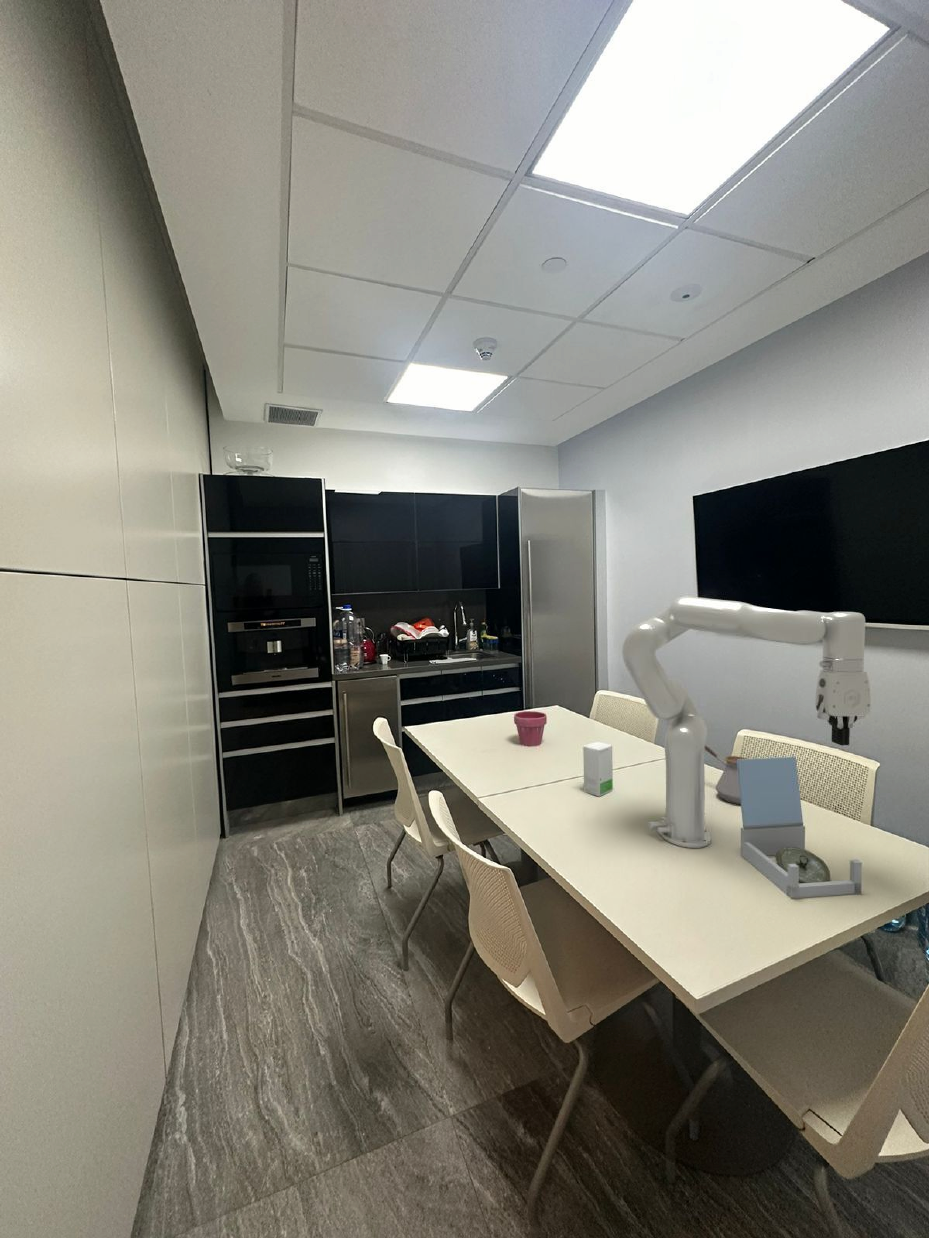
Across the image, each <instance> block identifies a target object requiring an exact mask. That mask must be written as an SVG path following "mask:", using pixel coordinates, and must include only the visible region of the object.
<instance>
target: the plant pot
mask: <svg viewBox="0 0 929 1238" xmlns="http://www.w3.org/2000/svg"><path fill="white" fill-rule="evenodd" d="M547 716H548V715H547V714H546V713H545V712H542V711H535V710H534V711H533V710H531V711H530V710H528V711H527V710H526V711H519V712H516V713H514V715H513V722H514V723H513V724H515V725H516V729H517V730H516V731H517V735H518V737H519V738H518V739H519V742H520V744H521V745H522V746H526V747H537V746H540V745H541V744H542V741H543V736H544V730H545V726H546V725H547V722H548V721H547V719H548V718H547Z"/></svg>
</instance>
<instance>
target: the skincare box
mask: <svg viewBox="0 0 929 1238" xmlns="http://www.w3.org/2000/svg"><path fill="white" fill-rule="evenodd" d="M582 748H583V749H582V751H583V792H584V793H587V794H590V795H592V796H595V797H599V798H600V797H602V796H605V795H606V794H609V793H610V792H613V791H614V784H613V783H614V776H613V775H614V773H613V772H614V771H613V764H614V763H613V745H612V744H610V743H605V742H600V741H595V742H590V743H588V744H585V745H583V746H582Z"/></svg>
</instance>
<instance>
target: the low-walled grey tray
mask: <svg viewBox="0 0 929 1238" xmlns="http://www.w3.org/2000/svg"><path fill="white" fill-rule="evenodd" d="M784 847H797V848H800V849H804V850H806V826H805V825H804V824H803V825H796V826H780V827H763V828H747V829H744V828H743V827H741V828H740V856H741V857H743V858H744V860H745V861H747V862H748V863H750V864H751V865H752V866H753V867H754V868H755V869H756V870H757V871H759V872H760V874H762V875H763V876H765V877H766V878H767V879H768V880H769V881H770V882H771V883H773V884H774V885H775V886H776V887H777V888H778V889H780V890H781V891H782V892H783V893H784V894H786V895H787V896H788V897H789V898H790V899H802V898H803V899H804V898H815V897H817V898H818V897H830V896H842V895H843V896H845V895H859V894H862V877H863V876H862V874H863V873H862V869H863V862H862V861H860V860H859V859H850V861H849V879H845V880H832V881H829V880H828V881H827V882H815V883H799V866H797V865H796V864H788V873H787V872H786V871H785V870H783V869H782V868H781V867H780V866H778V864H777V862H774V861H773V860H772V859H771V858H769V857H772V856H773V857H774V856H775V857H776V853H777V851H779V850H780V849H782V848H784Z"/></svg>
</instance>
